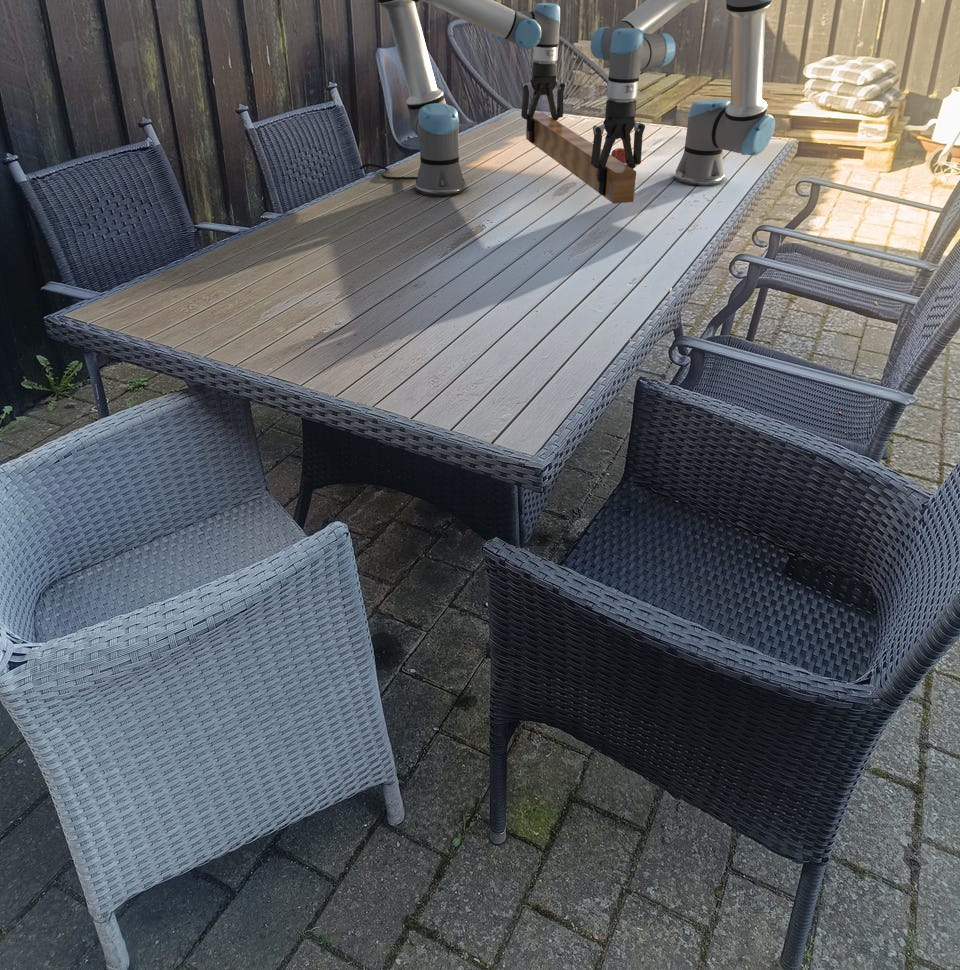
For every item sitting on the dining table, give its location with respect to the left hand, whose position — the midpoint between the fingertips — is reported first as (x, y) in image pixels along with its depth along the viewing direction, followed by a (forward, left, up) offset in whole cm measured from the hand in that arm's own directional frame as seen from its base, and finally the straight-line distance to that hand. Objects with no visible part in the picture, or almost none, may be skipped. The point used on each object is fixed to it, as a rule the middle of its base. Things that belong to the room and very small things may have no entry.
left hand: (540, 141), depth 270 cm
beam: (+24, -17, 0) cm, 30 cm away
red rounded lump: (+15, +26, -9) cm, 32 cm away
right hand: (+48, -34, +1) cm, 59 cm away
